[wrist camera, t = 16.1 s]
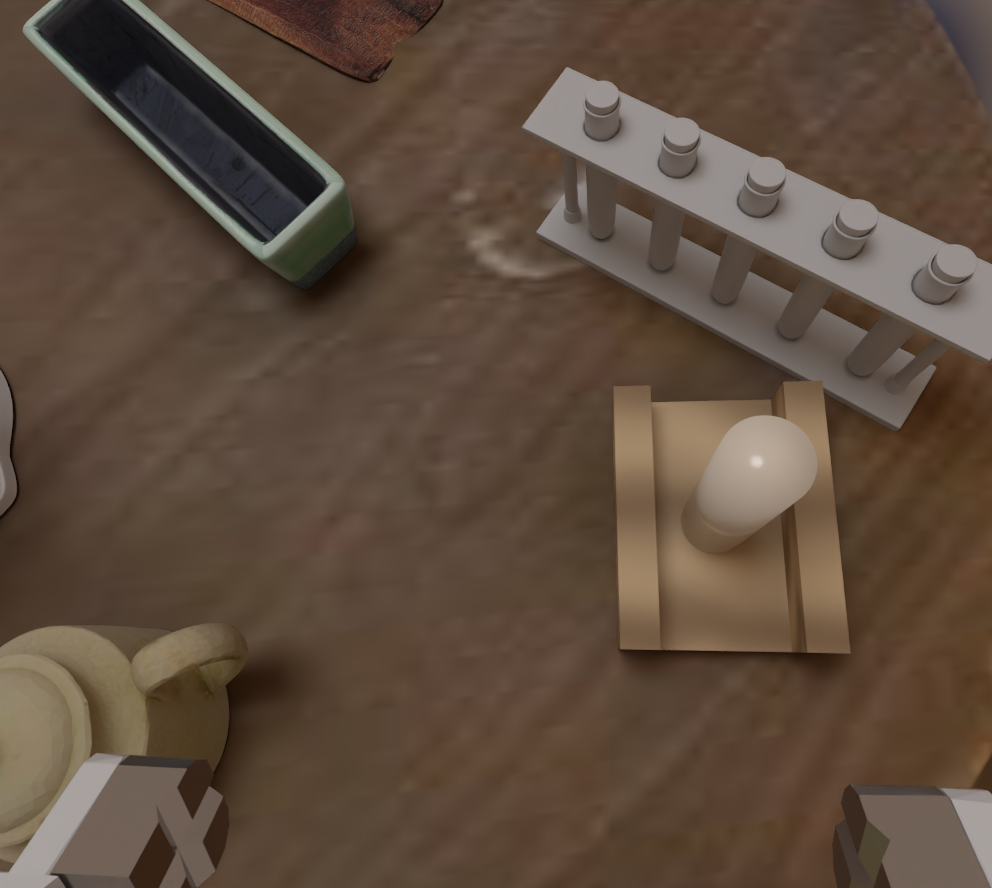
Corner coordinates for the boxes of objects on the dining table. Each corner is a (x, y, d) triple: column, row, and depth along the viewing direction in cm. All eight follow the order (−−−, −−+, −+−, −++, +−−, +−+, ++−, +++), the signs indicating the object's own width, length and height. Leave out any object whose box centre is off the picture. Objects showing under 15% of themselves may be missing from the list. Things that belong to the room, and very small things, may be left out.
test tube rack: (536, 238, 49) (514, 97, 37) (573, 187, 50) (564, 31, 37) (894, 432, 43) (1018, 343, 30) (931, 371, 43) (1067, 259, 31)
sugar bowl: (177, 540, 47) (-9, 494, 33) (308, 643, 44) (168, 641, 30) (23, 746, 45) (-249, 793, 30) (150, 867, 42) (-83, 983, 28)
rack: (823, 652, 40) (850, 653, 36) (617, 648, 42) (620, 649, 37) (800, 406, 44) (822, 380, 40) (612, 411, 45) (613, 386, 41)
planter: (383, 243, 51) (349, 180, 44) (307, 316, 50) (260, 263, 43) (153, 40, 58) (93, -41, 52) (84, 101, 58) (14, 27, 51)
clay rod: (729, 565, 41) (791, 525, 27) (669, 533, 41) (701, 479, 28) (758, 509, 41) (833, 442, 28) (699, 478, 42) (743, 399, 29)
